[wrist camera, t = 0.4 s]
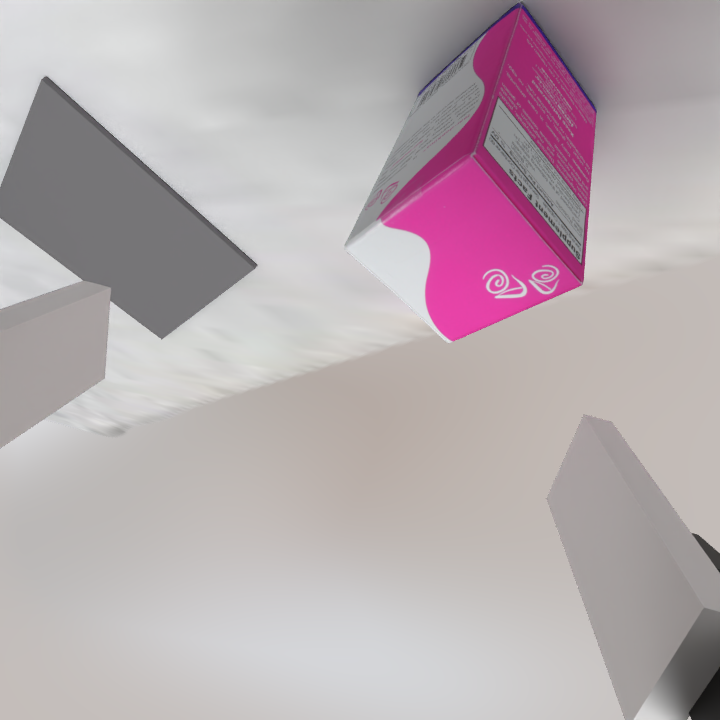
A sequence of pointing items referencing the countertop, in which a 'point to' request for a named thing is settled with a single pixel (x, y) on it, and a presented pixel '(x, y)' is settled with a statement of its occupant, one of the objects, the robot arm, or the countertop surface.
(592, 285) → the countertop surface
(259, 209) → the countertop surface
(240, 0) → the countertop surface
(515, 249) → the supplement box
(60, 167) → the mat
